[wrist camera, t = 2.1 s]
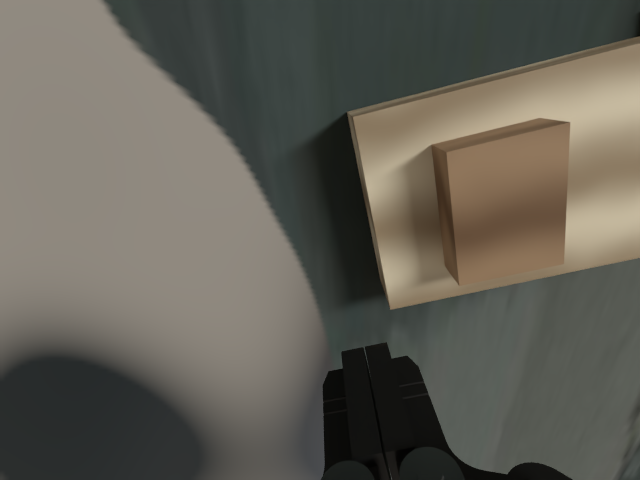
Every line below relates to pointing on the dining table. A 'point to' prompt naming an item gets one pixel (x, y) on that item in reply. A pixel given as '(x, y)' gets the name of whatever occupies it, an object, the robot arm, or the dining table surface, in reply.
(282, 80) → the dining table surface
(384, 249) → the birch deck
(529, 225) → the walnut tile
